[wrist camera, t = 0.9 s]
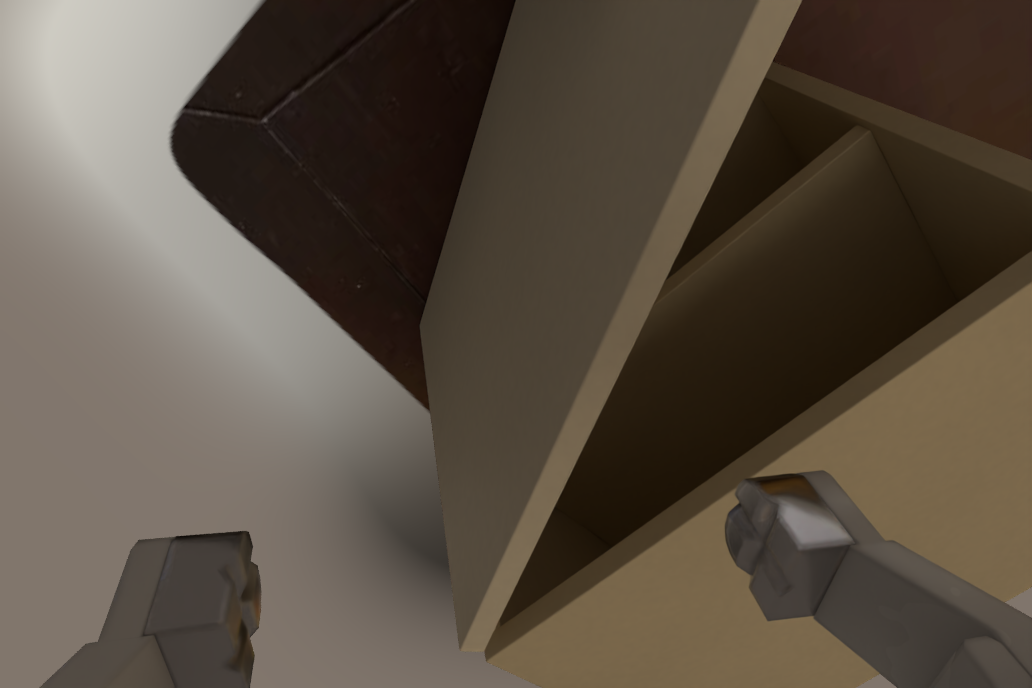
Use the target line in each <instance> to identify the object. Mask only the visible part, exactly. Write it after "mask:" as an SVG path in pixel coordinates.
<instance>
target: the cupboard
mask: <svg viewBox="0 0 1032 688" xmlns="http://www.w3.org/2000/svg"><path fill="white" fill-rule="evenodd" d="M820 470H824V471H826V472H827V473H829V474H831V475H832V476H833V478H834V479H835V480H836V481H837V482H838V484H839V485H840V486H841V487H842V489H843V490H844V491H845V492H846V493H847V495H848V496H849V497H850V498H851V500H852V501H853V502H854V503H855V504H856V506H857V507H858V508H859V509H860V510H861V512H862V513H863V514H864V515H865V517H866V518H867V519H868V520H869V521H870V523H871V524H872V525H873V526H874V527H875V529H876V530H877V531H878V532H879V534H880V535H881V536H882V537H883V538H884V540H885V541H889V540H894V541H896V542H898V543H899V544H901V545H903V546H905V547H906V548H908V549H910V550H912V551H914V552H915V553H917V554H919V555H921V556H923V557H924V558H926V559H928V560H930V561H931V562H933V563H935V564H937V565H939V566H940V567H942V568H944V569H946V570H947V571H949V572H951V573H953V574H955V575H956V576H958V577H960V578H962V579H963V580H965V581H967V582H969V583H971V584H972V585H974V586H976V587H978V588H979V589H981V590H983V591H985V592H987V593H988V594H990V595H992V596H994V597H995V598H997V599H999V600H1001V601H1003V602H1004V603H1005V602H1006V601H1008V600H1010V599H1011V598H1013V597H1015V596H1017V595H1019V594H1020V593H1022V592H1024V591H1026V590H1027V589H1029V588H1031V587H1032V160H1030V159H1027V158H1024V157H1022V156H1019V155H1016V154H1014V153H1011V152H1008V151H1006V150H1003V149H1001V148H998V147H995V146H993V145H990V144H987V143H985V142H982V141H980V140H977V139H974V138H972V137H969V136H966V135H964V134H961V133H959V132H956V131H953V130H951V129H948V128H945V127H943V126H940V125H937V124H935V123H932V122H930V121H927V120H924V119H922V118H919V117H916V116H914V115H911V114H909V113H906V112H903V111H901V110H898V109H895V108H893V107H890V106H888V105H885V104H882V103H880V102H877V101H874V100H872V99H869V98H866V97H864V96H861V95H859V94H856V93H853V92H851V91H848V90H845V89H843V88H840V87H838V86H835V85H832V84H830V83H827V82H824V81H822V80H819V79H816V78H814V77H811V76H809V75H806V74H803V73H801V72H798V71H795V70H793V69H790V68H788V67H785V66H782V65H780V64H777V63H774V62H772V63H771V65H770V67H769V69H768V71H767V73H766V75H765V77H764V79H763V81H762V83H761V85H760V87H759V89H758V92H757V94H756V96H755V98H754V100H753V102H752V104H751V106H750V108H749V110H748V112H747V114H746V116H745V118H744V120H743V122H742V124H741V126H740V128H739V130H738V132H737V134H736V137H735V139H734V141H733V143H732V145H731V147H730V149H729V151H728V153H727V155H726V157H725V159H724V161H723V163H722V165H721V167H720V169H719V171H718V173H717V175H716V177H715V179H714V182H713V184H712V186H711V188H710V190H709V192H708V194H707V196H706V198H705V200H704V202H703V204H702V206H701V208H700V210H699V212H698V214H697V216H696V218H695V220H694V222H693V225H692V227H691V229H690V231H689V233H688V235H687V237H686V239H685V241H684V243H683V245H682V247H681V249H680V251H679V253H678V255H677V257H676V259H675V261H674V263H673V265H672V267H671V270H670V272H669V274H668V276H667V278H666V280H665V282H664V284H663V286H662V288H661V290H660V292H659V294H658V296H657V298H656V300H655V302H654V304H653V306H652V308H651V310H650V312H649V315H648V317H647V319H646V321H645V323H644V325H643V327H642V329H641V331H640V333H639V335H638V337H637V339H636V341H635V343H634V345H633V347H632V349H631V351H630V353H629V355H628V357H627V360H626V362H625V364H624V366H623V368H622V370H621V372H620V374H619V376H618V378H617V380H616V382H615V384H614V386H613V388H612V390H611V392H610V394H609V396H608V398H607V400H606V403H605V405H604V407H603V409H602V411H601V413H600V415H599V417H598V419H597V421H596V423H595V425H594V427H593V429H592V431H591V433H590V435H589V437H588V439H587V441H586V443H585V445H584V448H583V450H582V452H581V454H580V456H579V458H578V460H577V462H576V464H575V466H574V468H573V470H572V472H571V474H570V476H569V478H568V480H567V482H566V484H565V486H564V488H563V490H562V493H561V495H560V497H559V499H558V501H557V503H556V505H555V507H554V509H553V511H552V513H551V515H550V517H549V519H548V521H547V523H546V525H545V527H544V529H543V531H542V533H541V536H540V538H539V540H538V542H537V544H536V546H535V548H534V550H533V552H532V554H531V556H530V558H529V560H528V562H527V564H526V566H525V568H524V570H523V572H522V574H521V576H520V578H519V581H518V583H517V585H516V587H515V589H514V591H513V593H512V595H511V597H510V599H509V601H508V603H507V605H506V607H505V609H504V611H503V613H502V615H501V617H500V619H499V621H498V623H497V626H496V628H495V630H494V632H493V634H492V636H491V638H490V640H489V642H488V644H487V646H486V648H485V650H484V651H485V657H486V661H487V662H488V663H490V664H492V665H494V666H496V667H498V668H501V669H503V670H505V671H507V672H509V673H511V674H514V675H516V676H518V677H520V678H522V679H524V680H527V681H529V682H531V683H533V684H535V685H537V686H540V687H542V688H856V687H858V686H859V685H861V684H863V683H865V682H866V681H868V680H870V679H872V678H873V677H875V676H877V675H879V674H880V673H879V672H878V671H876V670H875V669H874V668H873V667H871V666H870V665H869V664H868V663H867V662H865V661H864V660H863V659H862V658H860V657H859V656H858V655H857V654H856V653H854V652H853V651H852V650H851V649H850V648H848V647H847V646H846V645H845V644H843V643H842V642H841V641H840V640H839V639H837V638H836V637H835V636H834V635H832V634H831V633H830V632H829V631H828V630H826V629H825V628H824V627H823V626H822V625H820V624H819V623H818V622H817V621H815V620H814V619H813V618H814V616H809V617H800V618H792V619H783V620H775V621H767V619H766V617H765V616H764V614H763V612H762V610H761V609H760V607H759V605H758V603H757V602H756V600H755V598H754V596H753V595H752V593H751V591H750V589H749V582H750V576H751V575H749V574H748V573H746V572H745V571H743V570H742V569H740V568H739V567H737V566H736V564H735V562H734V561H733V559H732V557H731V555H730V553H729V550H728V547H727V544H726V540H725V522H726V519H727V515H728V512H729V511H731V510H732V509H733V508H734V507H735V506H736V505H737V504H738V503H739V501H738V499H737V498H736V496H735V492H736V489H737V486H738V484H739V483H740V482H741V481H742V480H743V479H746V478H755V477H763V476H772V475H780V474H789V473H794V474H796V473H801V472H810V471H820Z"/></svg>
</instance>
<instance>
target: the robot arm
mask: <svg viewBox="0 0 1032 688" xmlns="http://www.w3.org/2000/svg"><path fill="white" fill-rule="evenodd" d="M735 496H736V498H737V499H738V501H739V503H738V504H737V505H736V506H735V507H734V508H733V509H732V510H731V511H729V512H728V515H727V519H726V522H725V540H726V544H727V547H728V550H729V553H730V555H731V557H732V559H733V561H734V562H735V564H736V566H737V567H739V568H740V569H742V570H743V571H745V572H746V573H748V574H749V575H751V576H750V582H749V589H750V591H751V593H752V595H753V596H754V598H755V600H756V602H757V603H758V605H759V607H760V609H761V610H762V612H763V614H764V616H765V617H766V619H767V621H775V620H783V619H792V618H800V617H809V616H814V618H813V619H814V620H815V621H817V622H818V623H819V624H820V625H822V626H823V627H824V628H825V629H826V630H828V631H829V632H830V633H831V634H832V635H834V636H835V637H836V638H837V639H839V640H840V641H841V642H842V643H843V644H845V645H846V646H847V647H848V648H850V649H851V650H852V651H853V652H854V653H856V654H857V655H858V656H859V657H860V658H862V659H863V660H864V661H865V662H867V663H868V664H869V665H870V666H871V667H873V668H874V669H875V670H876V671H878V672H879V673H880V674H881V675H882V676H884V677H885V678H886V679H887V680H888V681H890V682H891V683H892V684H894V685H895V686H896V687H897V688H1032V618H1031V617H1029V616H1027V615H1026V614H1024V613H1022V612H1020V611H1018V610H1017V609H1015V608H1013V607H1011V606H1009V605H1008V604H1006V603H1004V602H1003V601H1001V600H999V599H997V598H995V597H994V596H992V595H990V594H988V593H987V592H985V591H983V590H981V589H979V588H978V587H976V586H974V585H972V584H971V583H969V582H967V581H965V580H963V579H962V578H960V577H958V576H956V575H955V574H953V573H951V572H949V571H947V570H946V569H944V568H942V567H940V566H939V565H937V564H935V563H933V562H931V561H930V560H928V559H926V558H924V557H923V556H921V555H919V554H917V553H915V552H914V551H912V550H910V549H908V548H906V547H905V546H903V545H901V544H899V543H898V542H896V541H894V540H889V541H885V540H884V538H883V537H882V536H881V535H880V534H879V532H878V531H877V530H876V529H875V527H874V526H873V525H872V524H871V523H870V521H869V520H868V519H867V518H866V517H865V515H864V514H863V513H862V512H861V510H860V509H859V508H858V507H857V506H856V504H855V503H854V502H853V501H852V500H851V498H850V497H849V496H848V495H847V493H846V492H845V491H844V490H843V489H842V487H841V486H840V485H839V484H838V482H837V481H836V480H835V479H834V478H833V476H832V475H831V474H829V473H827V472H826V471H824V470H820V471H810V472H801V473H796V474H794V473H789V474H780V475H772V476H763V477H755V478H746V479H743V480H742V481H741V482H740V483H739V484H738V486H737V489H736V492H735ZM252 548H253V545H252V541H251V538H250V534H249V532H247V531H238V532H226V533H213V534H200V535H189V536H176V537H169V538H156V539H145V540H138V542H137V543H136V544H135V546H134V547H133V548H132V549H131V551H130V554H129V557H128V559H127V562H126V565H125V568H124V570H123V573H122V576H121V579H120V582H119V584H118V587H117V590H116V593H115V595H114V598H113V601H112V604H111V606H110V609H109V612H108V615H107V618H106V621H105V623H104V626H103V629H102V631H101V634H100V637H99V640H98V642H95V643H88V644H85V645H84V646H83V647H82V648H81V649H80V650H79V651H78V652H77V653H76V654H75V655H74V656H73V657H71V659H69V660H68V661H67V662H66V663H65V664H64V665H63V666H62V667H61V668H60V669H59V670H58V671H57V672H56V673H55V674H54V675H52V676H51V677H50V678H49V679H48V680H47V681H46V682H45V683H44V684H43V685H42V686H41V687H40V688H250V683H251V676H252V669H253V663H254V652H253V648H252V644H251V640H250V637H251V636H252V635H253V634H254V633H255V631H256V630H257V629H258V628H259V621H260V613H261V583H260V575H259V570H258V566H257V565H256V564H254V563H253V562H251V555H252Z"/></svg>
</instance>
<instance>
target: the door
mask: <svg viewBox="0 0 1032 688" xmlns="http://www.w3.org/2000/svg"><path fill="white" fill-rule="evenodd" d="M801 1H802V0H516V1H515V5H514V8H513V11H512V15H511V18H510V21H509V25H508V28H507V32H506V35H505V38H504V42H503V45H502V48H501V52H500V55H499V59H498V62H497V65H496V69H495V72H494V76H493V79H492V82H491V86H490V89H489V92H488V96H487V99H486V103H485V106H484V109H483V113H482V116H481V119H480V123H479V126H478V130H477V133H476V136H475V140H474V143H473V146H472V150H471V153H470V157H469V160H468V163H467V167H466V170H465V173H464V177H463V180H462V184H461V187H460V190H459V194H458V197H457V201H456V204H455V207H454V211H453V214H452V217H451V221H450V224H449V228H448V231H447V234H446V238H445V241H444V244H443V248H442V251H441V255H440V258H439V261H438V265H437V268H436V271H435V275H434V278H433V282H432V285H431V288H430V292H429V295H428V298H427V302H426V305H425V309H424V312H423V315H422V319H421V322H420V334H421V342H422V350H423V358H424V366H425V374H426V382H427V390H428V398H429V406H430V415H431V423H432V431H433V439H434V447H435V455H436V462H437V471H438V479H439V487H440V496H441V504H442V511H443V520H444V528H445V536H446V544H447V552H448V560H449V568H450V576H451V585H452V592H453V601H454V609H455V617H456V625H457V633H458V641H459V649H460V651H466V652H483V651H484V650H485V648H486V646H487V644H488V642H489V640H490V638H491V636H492V634H493V632H494V630H495V628H496V626H497V623H498V621H499V619H500V617H501V615H502V613H503V611H504V609H505V607H506V605H507V603H508V601H509V599H510V597H511V595H512V593H513V591H514V589H515V587H516V585H517V583H518V581H519V578H520V576H521V574H522V572H523V570H524V568H525V566H526V564H527V562H528V560H529V558H530V556H531V554H532V552H533V550H534V548H535V546H536V544H537V542H538V540H539V538H540V536H541V533H542V531H543V529H544V527H545V525H546V523H547V521H548V519H549V517H550V515H551V513H552V511H553V509H554V507H555V505H556V503H557V501H558V499H559V497H560V495H561V493H562V490H563V488H564V486H565V484H566V482H567V480H568V478H569V476H570V474H571V472H572V470H573V468H574V466H575V464H576V462H577V460H578V458H579V456H580V454H581V452H582V450H583V448H584V445H585V443H586V441H587V439H588V437H589V435H590V433H591V431H592V429H593V427H594V425H595V423H596V421H597V419H598V417H599V415H600V413H601V411H602V409H603V407H604V405H605V403H606V400H607V398H608V396H609V394H610V392H611V390H612V388H613V386H614V384H615V382H616V380H617V378H618V376H619V374H620V372H621V370H622V368H623V366H624V364H625V362H626V360H627V357H628V355H629V353H630V351H631V349H632V347H633V345H634V343H635V341H636V339H637V337H638V335H639V333H640V331H641V329H642V327H643V325H644V323H645V321H646V319H647V317H648V315H649V312H650V310H651V308H652V306H653V304H654V302H655V300H656V298H657V296H658V294H659V292H660V290H661V288H662V286H663V284H664V282H665V280H666V278H667V276H668V274H669V272H670V270H671V267H672V265H673V263H674V261H675V259H676V257H677V255H678V253H679V251H680V249H681V247H682V245H683V243H684V241H685V239H686V237H687V235H688V233H689V231H690V229H691V227H692V225H693V222H694V220H695V218H696V216H697V214H698V212H699V210H700V208H701V206H702V204H703V202H704V200H705V198H706V196H707V194H708V192H709V190H710V188H711V186H712V184H713V182H714V179H715V177H716V175H717V173H718V171H719V169H720V167H721V165H722V163H723V161H724V159H725V157H726V155H727V153H728V151H729V149H730V147H731V145H732V143H733V141H734V139H735V137H736V134H737V132H738V130H739V128H740V126H741V124H742V122H743V120H744V118H745V116H746V114H747V112H748V110H749V108H750V106H751V104H752V102H753V100H754V98H755V96H756V94H757V92H758V89H759V87H760V85H761V83H762V81H763V79H764V77H765V75H766V73H767V71H768V69H769V67H770V65H771V63H772V61H773V59H774V57H775V55H776V53H777V51H778V49H779V47H780V44H781V42H782V40H783V38H784V36H785V34H786V32H787V30H788V28H789V26H790V24H791V22H792V20H793V18H794V16H795V14H796V12H797V10H798V8H799V6H800V4H801Z"/></svg>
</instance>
